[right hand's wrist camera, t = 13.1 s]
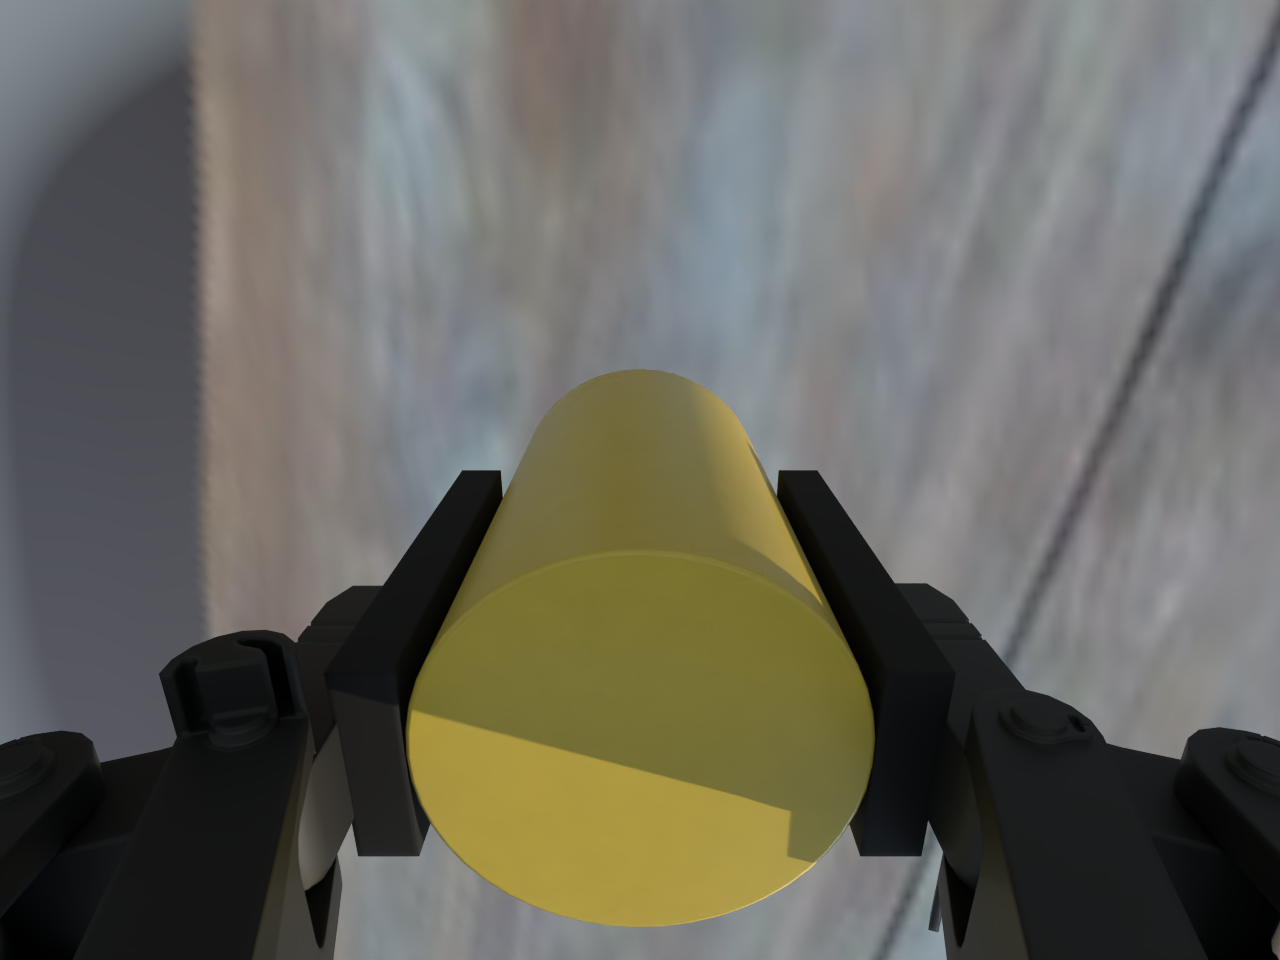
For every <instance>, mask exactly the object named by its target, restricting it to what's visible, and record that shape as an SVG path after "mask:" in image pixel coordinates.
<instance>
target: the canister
mask: <svg viewBox="0 0 1280 960" xmlns="http://www.w3.org/2000/svg"><path fill="white" fill-rule="evenodd" d="M405 733H406V756H407V761H408V766H409V771H410V776H411V781H412V784H413V786H414V789H415V792H416V794H417V797H418V800H419V803H420V805H421V807H422V808H423V810H424V812H425V814H426V816H427V817H428V819H429V821H430V823H431V825H432V826H433V828H434V829H435V830H436V832H437V833H438V834H439V836H440V837H441V838H442V840H443V841H444V842H445V844H446V845H447V846H448V847H449V848H450V849H451V850H452V851H453V852H454V853H455V854H456V855H457V856H458V857H459V858H460V859H461V860H462V861H463V863H464V864H466V865H467V866H468V867H469V868H471V869H472V870H473V871H474V872H476V873H477V874H478V875H479V876H481V877H482V878H483V879H484V880H486V881H488V882H489V883H491V884H492V885H494V886H496V887H497V888H499V889H500V890H502V891H503V892H505V893H507V894H509V895H511V896H513V897H515V898H517V899H519V900H521V901H523V902H525V903H527V904H529V905H532V906H534V907H537V908H540V909H543V910H545V911H548V912H551V913H554V914H557V915H561V916H564V917H568V918H572V919H576V920H580V921H585V922H592V923H598V924H604V925H614V926H630V927H647V926H667V925H675V924H683V923H691V922H695V921H700V920H704V919H709V918H713V917H717V916H720V915H723V914H726V913H729V912H732V911H735V910H739V909H742V908H744V907H746V906H748V905H751V904H753V903H755V902H757V901H760V900H762V899H764V898H766V897H768V896H770V895H772V894H773V893H775V892H777V891H778V890H780V889H782V888H784V887H785V886H787V885H789V884H790V883H792V882H793V881H794V880H796V879H797V878H798V877H800V876H801V875H802V874H804V873H805V872H806V871H808V870H809V869H810V868H811V867H812V866H813V865H815V864H816V863H817V862H818V861H819V860H820V859H821V858H822V857H823V856H824V855H825V854H826V853H827V852H828V851H829V850H830V849H831V848H832V846H833V845H834V844H835V843H836V842H837V840H838V839H839V838H840V837H841V835H842V834H843V833H844V832H845V830H846V828H847V827H848V825H849V823H850V822H851V820H852V819H853V817H854V815H855V814H856V812H857V810H858V808H859V805H860V803H861V801H862V798H863V796H864V794H865V791H866V789H867V785H868V781H869V778H870V774H871V770H872V766H873V757H874V747H875V725H874V712H873V708H872V704H871V700H870V696H869V691H868V688H867V685H866V683H865V680H864V678H863V676H862V673H861V671H860V669H859V666H858V664H857V662H856V660H855V658H854V656H853V653H852V651H851V649H850V647H849V645H848V643H847V641H846V639H845V637H844V635H843V633H842V631H841V629H840V626H839V624H838V622H837V620H836V618H835V616H834V614H833V612H832V610H831V608H830V606H829V604H828V602H827V600H826V597H825V595H824V593H823V591H822V589H821V587H820V585H819V583H818V581H817V579H816V577H815V575H814V573H813V570H812V568H811V566H810V564H809V562H808V560H807V558H806V556H805V554H804V552H803V550H802V548H801V546H800V544H799V541H798V539H797V537H796V535H795V533H794V531H793V529H792V527H791V525H790V523H789V521H788V519H787V517H786V514H785V512H784V510H783V508H782V506H781V504H780V502H779V500H778V498H777V496H776V494H775V492H774V490H773V488H772V485H771V483H770V481H769V479H768V477H767V475H766V473H765V471H764V469H763V467H762V465H761V463H760V461H759V458H758V456H757V454H756V452H755V450H754V448H753V446H752V444H751V442H750V440H749V438H748V436H747V434H746V432H745V430H744V428H743V426H742V425H741V423H740V422H739V420H738V418H737V417H736V416H735V415H734V413H733V412H732V411H731V410H730V408H729V407H728V406H727V405H726V404H725V403H724V402H723V401H721V400H720V399H719V398H718V397H717V396H716V395H715V394H713V393H712V392H710V391H709V390H707V389H706V388H705V387H703V386H701V385H699V384H697V383H695V382H693V381H691V380H689V379H687V378H684V377H681V376H678V375H676V374H672V373H667V372H663V371H656V370H645V369H639V370H624V371H618V372H613V373H609V374H605V375H602V376H599V377H596V378H594V379H591V380H589V381H587V382H585V383H583V384H581V385H579V386H578V387H576V388H575V389H573V390H571V391H570V392H568V393H567V394H566V395H565V396H564V397H562V398H561V399H560V400H559V401H558V402H556V403H555V405H554V406H553V407H552V408H551V409H550V410H549V411H548V412H547V413H546V415H545V416H544V418H543V419H542V421H541V422H540V424H539V425H538V427H537V429H536V431H535V433H534V435H533V437H532V439H531V441H530V443H529V445H528V447H527V449H526V451H525V454H524V456H523V458H522V460H521V462H520V464H519V466H518V468H517V470H516V472H515V474H514V476H513V479H512V481H511V483H510V485H509V487H508V489H507V491H506V493H505V495H504V497H503V499H502V501H501V503H500V506H499V508H498V510H497V512H496V514H495V516H494V518H493V520H492V522H491V524H490V526H489V528H488V531H487V533H486V535H485V537H484V539H483V541H482V543H481V545H480V547H479V549H478V551H477V553H476V556H475V558H474V560H473V562H472V564H471V566H470V568H469V570H468V572H467V574H466V576H465V578H464V581H463V583H462V585H461V587H460V589H459V591H458V593H457V595H456V597H455V599H454V601H453V603H452V606H451V608H450V610H449V612H448V614H447V616H446V618H445V620H444V622H443V624H442V626H441V628H440V631H439V633H438V635H437V637H436V639H435V641H434V643H433V645H432V647H431V649H430V651H429V653H428V656H427V658H426V660H425V662H424V664H423V666H422V668H421V670H420V672H419V674H418V676H417V678H416V681H415V685H414V688H413V691H412V694H411V698H410V701H409V705H408V712H407V720H406V728H405Z"/></svg>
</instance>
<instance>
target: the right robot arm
mask: <svg viewBox="0 0 1280 960" xmlns="http://www.w3.org/2000/svg"><path fill="white" fill-rule="evenodd" d="M777 498H778V500H779V502H780V504H781V506H782V508H783V510H784V512H785V514H786V517H787V519H788V521H789V523H790V525H791V527H792V529H793V531H794V533H795V535H796V537H797V539H798V541H799V544H800V546H801V548H802V550H803V552H804V554H805V556H806V558H807V560H808V562H809V564H810V566H811V568H812V570H813V573H814V575H815V577H816V579H817V581H818V583H819V585H820V587H821V589H822V591H823V593H824V595H825V597H826V600H827V602H828V604H829V606H830V608H831V610H832V612H833V614H834V616H835V618H836V620H837V622H838V624H839V626H840V629H841V631H842V633H843V635H844V637H845V639H846V641H847V643H848V645H849V647H850V649H851V651H852V653H853V656H854V658H855V660H856V662H857V664H858V666H859V669H860V671H861V673H862V676H863V678H864V680H865V683H866V685H867V688H868V691H869V696H870V700H871V704H872V708H873V712H874V725H875V747H874V757H873V766H872V770H871V774H870V778H869V781H868V785H867V789H866V791H865V794H864V796H863V798H862V801H861V803H860V805H859V808H858V810H857V812H856V814H855V815H854V817H853V819H852V820H851V822H850V823H849V824H850V827H851V830H852V833H853V836H854V839H855V842H856V845H857V848H858V851H859V853H860V856H921V855H922V850H923V845H924V839H925V834H926V829H927V823H928V821H929V823H930V825H931V827H932V829H933V831H934V833H935V836H936V838H937V840H938V842H939V844H940V846H941V848H942V850H943V856H942V861H941V865H940V870H939V875H938V880H937V885H936V890H935V895H934V900H933V905H932V910H931V915H930V922H929V929H928V930H931V931H935V932H938V931H939V927H940V922H941V917H942V922H943V930H944V939H945V947H946V955H947V960H1280V741H1278V740H1275V739H1272V738H1269V737H1267V736H1261V735H1260V734H1256V733H1252V732H1248V731H1242V730H1235V729H1228V728H1220V727H1218V728H1210V729H1202V730H1198V731H1197V732H1196V733H1194V734H1193V735H1192V736H1190V737H1189V738H1188V740H1187V743H1186V746H1185V749H1184V751H1183V754H1182V757H1181V760H1179V759H1175V758H1170V757H1165V756H1160V755H1155V754H1151V753H1146V752H1141V751H1136V750H1132V749H1127V748H1122V747H1118V746H1115V745H1111V744H1107V743H1106V741H1105V739H1104V737H1103V736H1102V734H1101V733H1100V732H1099V730H1098V729H1097V728H1096V726H1095V725H1094V724H1093V722H1092V721H1091V720H1090V719H1088V718H1087V717H1086V716H1084V715H1083V714H1081V713H1080V712H1079V711H1077V710H1076V709H1075V708H1073V707H1072V706H1070V705H1068V704H1066V703H1063V702H1061V701H1059V700H1057V699H1055V698H1052V697H1050V696H1048V695H1044V694H1040V693H1037V692H1033V691H1029V690H1025V688H1024V687H1023V686H1022V685H1021V683H1020V682H1019V681H1018V680H1017V678H1016V677H1015V676H1014V675H1013V674H1012V672H1011V671H1010V670H1009V669H1008V667H1007V666H1006V665H1005V664H1004V662H1003V661H1002V660H1001V659H1000V657H999V656H998V655H997V654H996V652H995V651H994V650H993V649H992V648H991V646H990V645H989V644H988V643H987V641H986V640H982V635H981V634H980V633H979V631H978V630H977V629H976V628H975V626H974V625H973V624H972V623H969V619H968V618H967V617H966V615H965V614H964V613H963V612H962V610H961V609H960V608H959V607H958V605H957V604H956V603H955V602H954V600H952V599H951V598H949V597H947V596H946V595H944V594H943V593H941V592H940V591H938V590H936V589H935V588H933V587H932V586H930V585H928V584H927V583H894V582H893V580H892V579H891V577H890V576H889V574H888V573H887V571H886V570H885V569H884V567H883V566H882V564H881V563H880V561H879V560H878V558H877V557H876V555H875V554H874V553H873V551H872V550H871V548H870V547H869V545H868V544H867V542H866V541H865V539H864V538H863V537H862V535H861V534H860V532H859V531H858V529H857V528H856V526H855V525H854V523H853V522H852V520H851V519H850V518H849V516H848V515H847V513H846V512H845V510H844V509H843V507H842V506H841V504H840V503H839V502H838V500H837V499H836V497H835V496H834V494H833V493H832V491H831V490H830V488H829V487H828V486H827V484H826V483H825V481H824V480H823V478H822V477H821V475H820V474H819V472H818V471H817V470H779V475H778V489H777ZM502 499H503V495H502V482H501V470H462V472H461V473H460V475H459V476H458V478H457V479H456V480H455V482H454V483H453V485H452V486H451V488H450V489H449V491H448V492H447V494H446V495H445V496H444V498H443V499H442V501H441V502H440V504H439V505H438V507H437V508H436V510H435V511H434V512H433V514H432V515H431V517H430V518H429V520H428V521H427V523H426V524H425V526H424V527H423V529H422V530H421V531H420V533H419V534H418V536H417V537H416V539H415V540H414V542H413V543H412V545H411V546H410V547H409V549H408V550H407V552H406V553H405V555H404V556H403V558H402V559H401V561H400V562H399V563H398V565H397V566H396V568H395V569H394V571H393V572H392V574H391V575H390V577H389V578H388V579H387V581H386V582H385V584H384V585H383V586H352V587H350V588H349V589H347V590H346V591H344V592H342V593H341V594H339V595H338V596H336V597H335V598H333V599H331V600H330V601H328V602H327V603H326V604H325V605H324V607H323V608H322V609H321V610H320V612H319V613H318V614H317V615H316V616H315V618H314V619H313V620H312V621H311V626H307V628H306V629H305V630H304V631H303V633H302V634H301V635H300V636H299V638H298V642H295V643H294V641H292V640H291V639H290V638H289V637H287V636H286V635H285V634H283V633H278V632H273V631H268V630H253V631H240V632H236V633H231V634H227V635H222V636H218V637H215V638H213V639H210V640H208V641H205V642H203V643H200V644H198V645H195V646H193V647H191V648H190V649H188V650H186V651H185V652H183V653H182V654H180V655H178V656H177V657H175V658H174V659H172V660H171V661H170V662H169V663H168V664H167V666H166V667H165V668H164V669H163V670H162V671H161V672H160V673H159V676H160V679H161V683H162V686H163V690H164V693H165V697H166V700H167V704H168V707H169V711H170V714H171V718H172V721H173V724H174V728H175V732H176V735H177V738H176V741H175V743H174V745H173V747H170V748H166V749H162V750H159V751H154V752H149V753H144V754H140V755H135V756H131V757H126V758H121V759H116V760H111V761H107V762H102V763H100V762H99V759H98V756H97V753H96V751H95V748H94V745H93V742H92V741H91V740H90V739H88V738H87V737H86V736H84V735H83V734H82V733H76V732H68V731H55V732H48V733H41V734H34V735H30V736H26V737H22V738H20V739H18V740H16V739H15V740H12V741H10V742H7V743H4V744H2V745H0V960H333V957H334V949H335V941H336V932H337V924H338V916H339V908H340V899H341V891H342V879H341V871H340V865H339V861H338V856H337V853H338V851H339V849H340V847H341V845H342V842H343V840H344V838H345V836H346V834H347V832H348V830H349V828H350V825H351V823H352V826H353V831H354V837H355V842H356V847H357V852H358V856H419V855H420V852H421V849H422V846H423V843H424V840H425V837H426V835H427V832H428V829H429V826H430V821H429V819H428V817H427V816H426V814H425V812H424V810H423V808H422V807H421V805H420V803H419V800H418V797H417V794H416V792H415V789H414V786H413V784H412V781H411V776H410V771H409V766H408V761H407V756H406V733H405V728H406V720H407V712H408V705H409V701H410V698H411V694H412V691H413V688H414V685H415V681H416V678H417V676H418V674H419V672H420V670H421V668H422V666H423V664H424V662H425V660H426V658H427V656H428V653H429V651H430V649H431V647H432V645H433V643H434V641H435V639H436V637H437V635H438V633H439V631H440V628H441V626H442V624H443V622H444V620H445V618H446V616H447V614H448V612H449V610H450V608H451V606H452V603H453V601H454V599H455V597H456V595H457V593H458V591H459V589H460V587H461V585H462V583H463V581H464V578H465V576H466V574H467V572H468V570H469V568H470V566H471V564H472V562H473V560H474V558H475V556H476V553H477V551H478V549H479V547H480V545H481V543H482V541H483V539H484V537H485V535H486V533H487V531H488V528H489V526H490V524H491V522H492V520H493V518H494V516H495V514H496V512H497V510H498V508H499V506H500V503H501V501H502Z"/></svg>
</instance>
